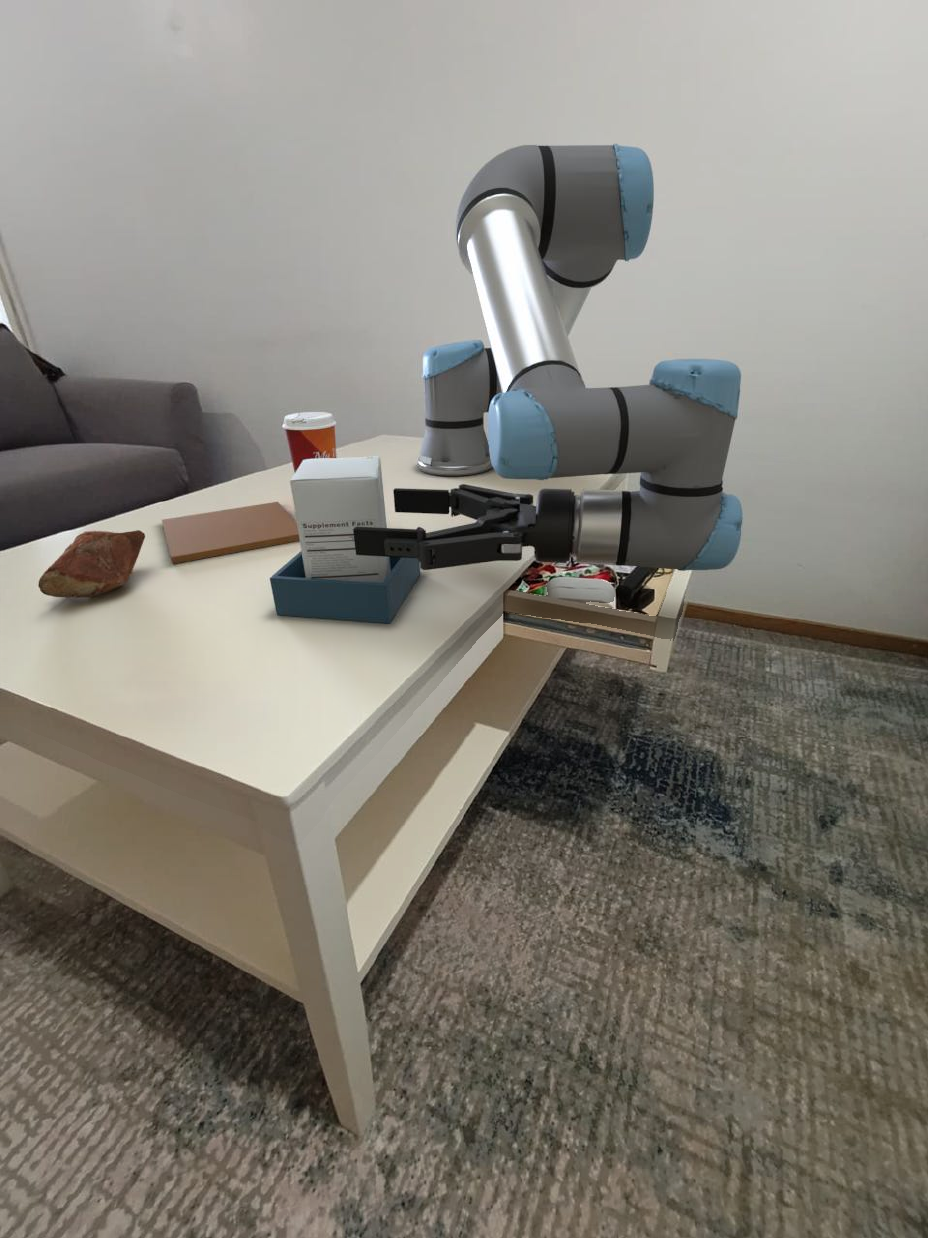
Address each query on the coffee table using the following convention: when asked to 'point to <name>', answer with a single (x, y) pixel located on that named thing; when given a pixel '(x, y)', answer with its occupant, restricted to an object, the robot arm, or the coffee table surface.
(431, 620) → the coffee table surface
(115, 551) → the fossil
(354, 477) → the white product box
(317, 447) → the coffee cup
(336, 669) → the coffee table surface
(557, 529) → the robot arm
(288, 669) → the coffee table surface
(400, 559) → the crate
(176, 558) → the cork mat
